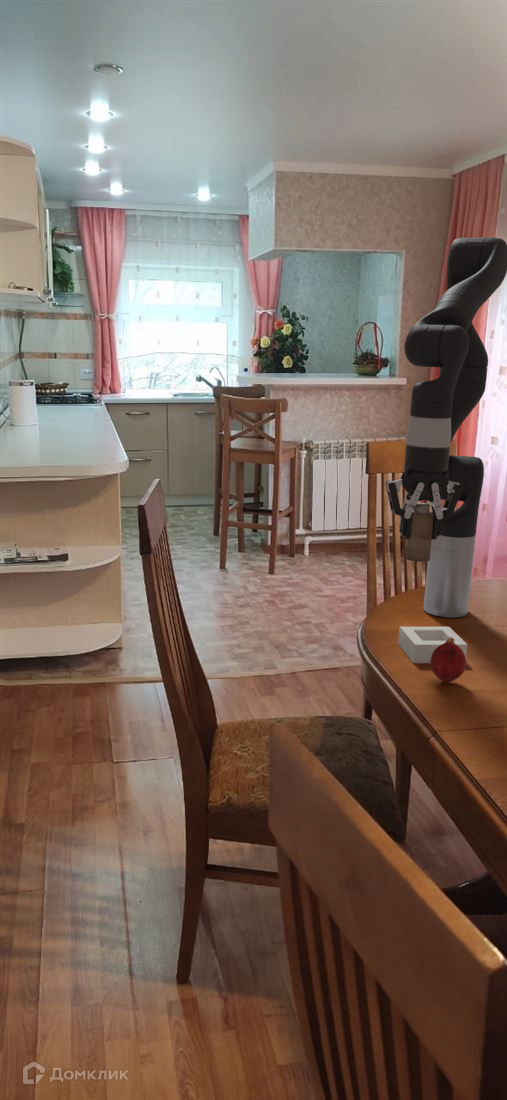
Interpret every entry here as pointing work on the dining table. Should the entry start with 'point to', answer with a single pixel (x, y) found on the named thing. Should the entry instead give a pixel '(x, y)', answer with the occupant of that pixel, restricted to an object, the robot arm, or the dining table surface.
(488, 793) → the dining table surface
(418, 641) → the holder
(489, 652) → the dining table surface
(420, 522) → the pepper mill
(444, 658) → the onion
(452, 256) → the robot arm
